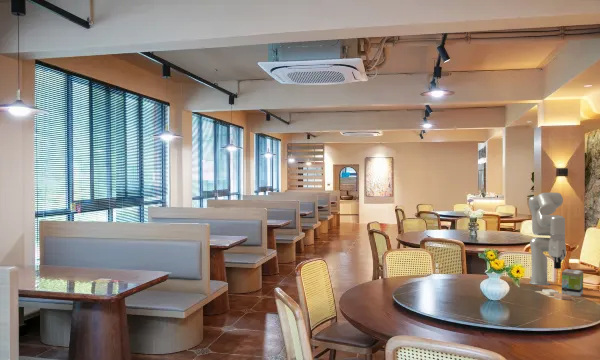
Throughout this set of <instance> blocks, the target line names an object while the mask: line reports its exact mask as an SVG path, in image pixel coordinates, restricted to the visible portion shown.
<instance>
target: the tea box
mask: <svg viewBox="0 0 600 360" xmlns="http://www.w3.org/2000/svg"><path fill="white" fill-rule="evenodd" d="M561 293H564V294H567V295H570V296H573V297H581V296H582V295H583V294H584V271H583V270H580V269H579V270H577V269H570V268H569V269H567V268H565V269H564V270H563V271H562V272H561Z"/></svg>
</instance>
